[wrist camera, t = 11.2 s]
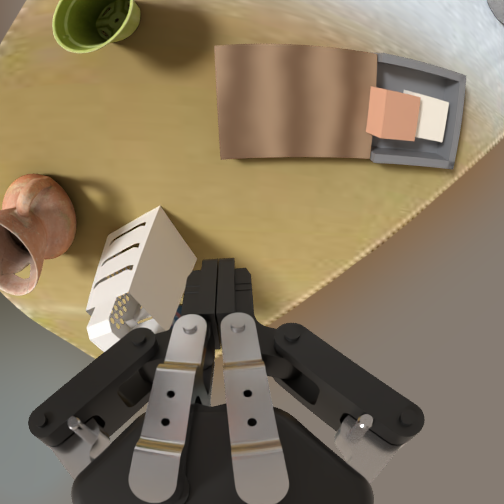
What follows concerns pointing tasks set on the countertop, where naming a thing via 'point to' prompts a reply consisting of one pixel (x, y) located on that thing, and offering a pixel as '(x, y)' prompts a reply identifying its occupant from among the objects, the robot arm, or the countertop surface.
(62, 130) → the countertop surface
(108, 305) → the grater
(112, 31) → the plant pot
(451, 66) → the countertop surface
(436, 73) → the box
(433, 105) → the cream tile
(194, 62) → the countertop surface
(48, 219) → the ceramic jug
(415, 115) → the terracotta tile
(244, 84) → the walnut ledge
